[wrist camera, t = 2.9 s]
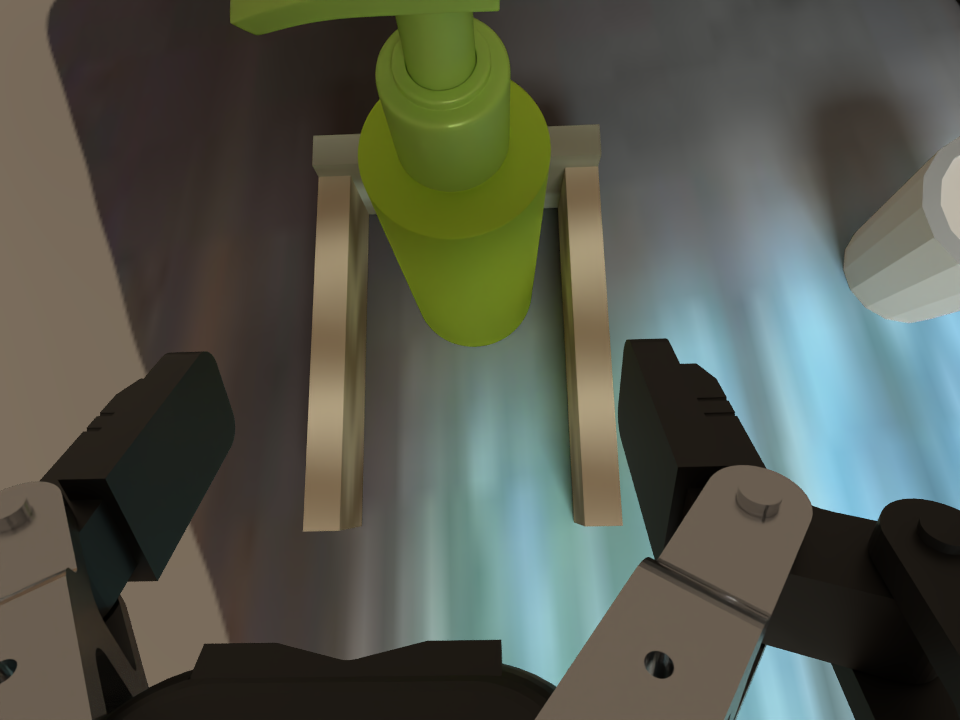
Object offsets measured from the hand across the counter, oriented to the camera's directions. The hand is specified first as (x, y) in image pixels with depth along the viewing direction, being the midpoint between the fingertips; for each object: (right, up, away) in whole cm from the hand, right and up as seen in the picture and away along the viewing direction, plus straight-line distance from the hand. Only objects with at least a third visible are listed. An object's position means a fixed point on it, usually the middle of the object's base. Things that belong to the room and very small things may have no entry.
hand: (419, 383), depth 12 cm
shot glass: (+22, +5, +19) cm, 30 cm away
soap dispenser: (0, +4, +19) cm, 20 cm away
